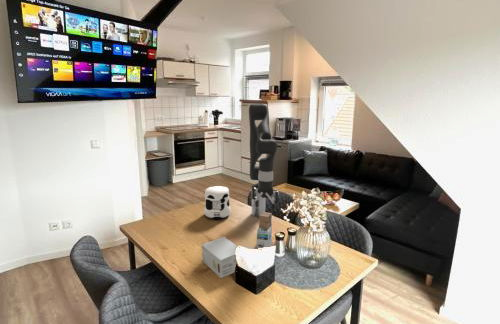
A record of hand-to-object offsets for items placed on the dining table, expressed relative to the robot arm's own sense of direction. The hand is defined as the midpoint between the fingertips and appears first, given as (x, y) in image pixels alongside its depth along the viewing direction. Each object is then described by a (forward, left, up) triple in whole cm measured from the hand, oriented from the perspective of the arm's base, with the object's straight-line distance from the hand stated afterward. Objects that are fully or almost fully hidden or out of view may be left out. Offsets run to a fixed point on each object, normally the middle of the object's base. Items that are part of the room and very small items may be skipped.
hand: (265, 208), depth 151 cm
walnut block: (0, 0, -10) cm, 10 cm away
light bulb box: (0, 0, -21) cm, 21 cm away
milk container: (-23, -42, -21) cm, 52 cm away
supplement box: (+25, -12, -21) cm, 35 cm away
